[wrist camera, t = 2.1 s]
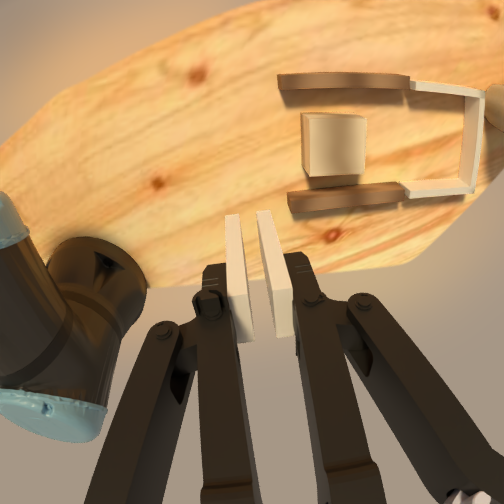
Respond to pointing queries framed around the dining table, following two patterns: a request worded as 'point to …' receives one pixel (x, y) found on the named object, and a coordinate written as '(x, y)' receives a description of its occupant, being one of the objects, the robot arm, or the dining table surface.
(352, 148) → the beige square block
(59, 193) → the dining table surface
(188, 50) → the dining table surface
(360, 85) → the slot rails
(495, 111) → the flower pot
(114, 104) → the dining table surface
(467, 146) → the corral
